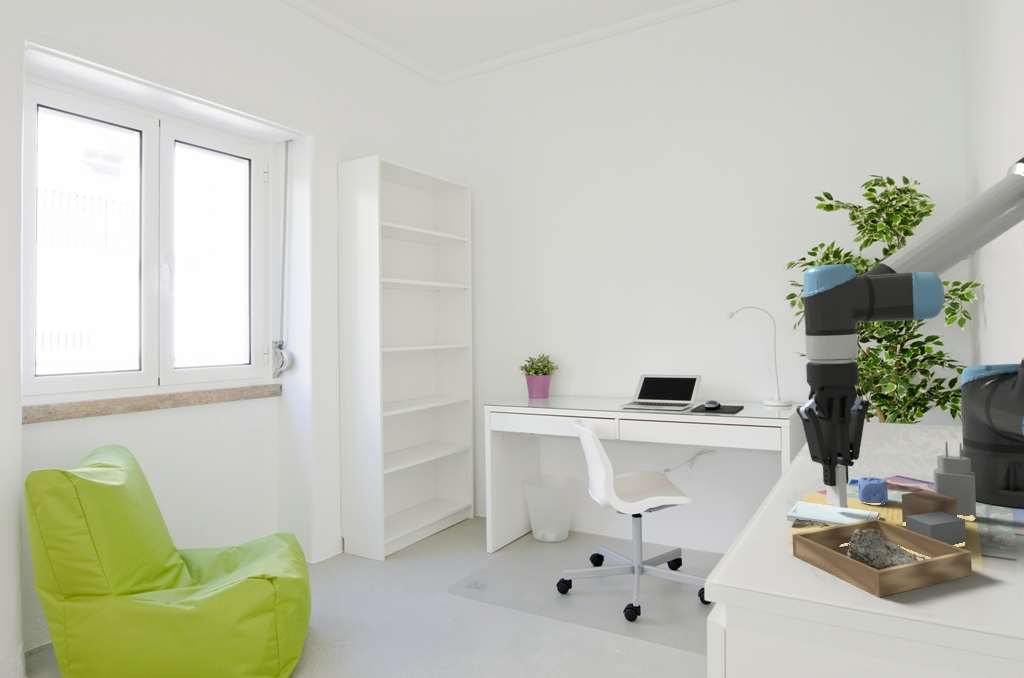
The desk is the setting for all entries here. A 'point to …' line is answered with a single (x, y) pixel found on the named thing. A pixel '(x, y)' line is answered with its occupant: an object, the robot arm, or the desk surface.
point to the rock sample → (877, 550)
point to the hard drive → (829, 514)
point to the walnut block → (927, 504)
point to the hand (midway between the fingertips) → (836, 504)
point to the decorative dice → (872, 490)
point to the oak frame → (888, 581)
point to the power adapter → (956, 481)
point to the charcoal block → (938, 526)
